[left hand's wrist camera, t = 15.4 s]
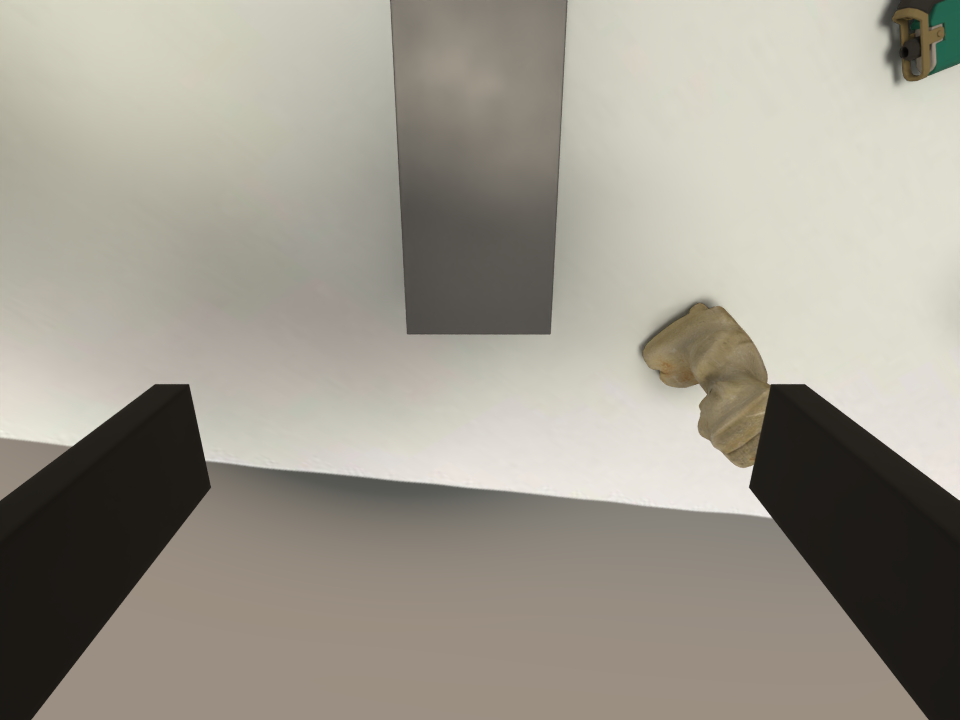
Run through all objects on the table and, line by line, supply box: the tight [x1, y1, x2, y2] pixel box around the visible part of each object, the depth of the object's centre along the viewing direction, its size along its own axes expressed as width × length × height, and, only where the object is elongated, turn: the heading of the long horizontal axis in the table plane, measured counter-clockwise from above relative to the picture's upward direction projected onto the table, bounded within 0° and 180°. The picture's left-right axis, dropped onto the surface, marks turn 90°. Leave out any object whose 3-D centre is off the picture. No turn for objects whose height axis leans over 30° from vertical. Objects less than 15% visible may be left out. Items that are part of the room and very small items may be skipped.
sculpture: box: [643, 303, 771, 468], centre depth 39 cm, size 6×7×15 cm
